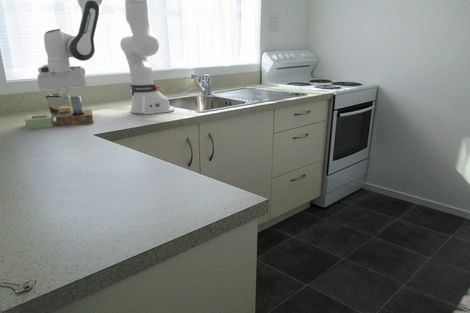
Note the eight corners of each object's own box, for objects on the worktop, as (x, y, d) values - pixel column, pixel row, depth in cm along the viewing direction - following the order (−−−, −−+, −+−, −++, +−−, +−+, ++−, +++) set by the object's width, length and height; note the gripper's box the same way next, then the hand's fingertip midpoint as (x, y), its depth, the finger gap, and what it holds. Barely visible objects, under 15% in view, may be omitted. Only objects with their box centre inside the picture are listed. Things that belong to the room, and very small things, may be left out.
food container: (76, 111, 196) (74, 92, 193) (70, 114, 190) (68, 94, 187) (54, 111, 197) (51, 92, 194) (48, 113, 191) (44, 94, 188)
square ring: (53, 122, 172) (52, 113, 171) (52, 127, 163) (50, 118, 162) (29, 124, 169) (27, 115, 167) (26, 129, 160) (24, 120, 159)
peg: (83, 121, 174) (80, 95, 170) (83, 123, 170) (80, 97, 167) (74, 122, 173) (71, 96, 169) (74, 124, 169) (70, 97, 165)
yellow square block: (72, 116, 179) (70, 105, 177) (72, 118, 175) (70, 107, 173) (60, 117, 177) (59, 106, 176) (60, 119, 173) (58, 108, 171)
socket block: (92, 117, 183) (91, 108, 182) (93, 123, 170) (92, 114, 169) (58, 119, 178) (57, 111, 177) (57, 126, 165) (55, 117, 164)
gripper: (84, 65, 175) (88, 94, 180) (35, 68, 168) (41, 98, 173) (84, 66, 169) (88, 96, 174) (34, 69, 163) (40, 100, 167)
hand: (65, 97), depth 173 cm, fingers closed
